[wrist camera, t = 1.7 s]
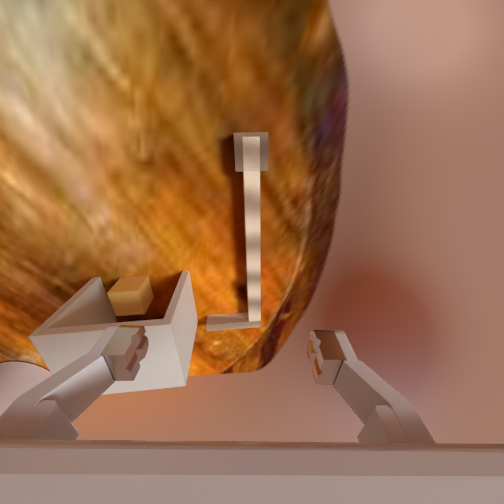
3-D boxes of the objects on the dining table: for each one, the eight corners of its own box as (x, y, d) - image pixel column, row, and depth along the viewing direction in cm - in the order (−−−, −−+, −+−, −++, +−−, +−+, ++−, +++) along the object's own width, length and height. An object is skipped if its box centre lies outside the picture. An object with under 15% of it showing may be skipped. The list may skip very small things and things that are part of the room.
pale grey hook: (264, 316, 48) (266, 326, 45) (208, 320, 47) (206, 331, 44) (265, 133, 33) (268, 132, 30) (182, 135, 32) (178, 133, 29)
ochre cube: (154, 296, 43) (145, 313, 39) (128, 298, 43) (115, 316, 38) (148, 275, 41) (137, 290, 36) (120, 277, 41) (106, 292, 36)
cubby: (197, 321, 46) (185, 385, 34) (113, 328, 45) (67, 398, 32) (189, 270, 41) (170, 324, 28) (93, 276, 40) (28, 336, 27)
